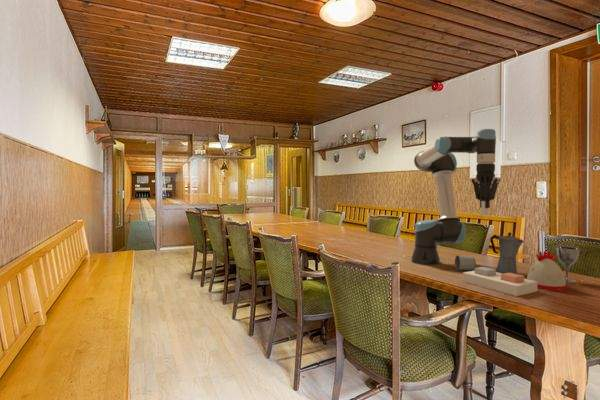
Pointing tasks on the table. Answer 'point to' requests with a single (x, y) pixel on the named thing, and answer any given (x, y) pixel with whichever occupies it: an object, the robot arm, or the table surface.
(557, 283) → the beige red dome
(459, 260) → the grey cylinder
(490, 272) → the grey rounded block
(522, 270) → the table surface
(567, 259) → the wine glass
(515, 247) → the moka pot
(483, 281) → the panel
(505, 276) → the pink rounded block
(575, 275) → the table surface
